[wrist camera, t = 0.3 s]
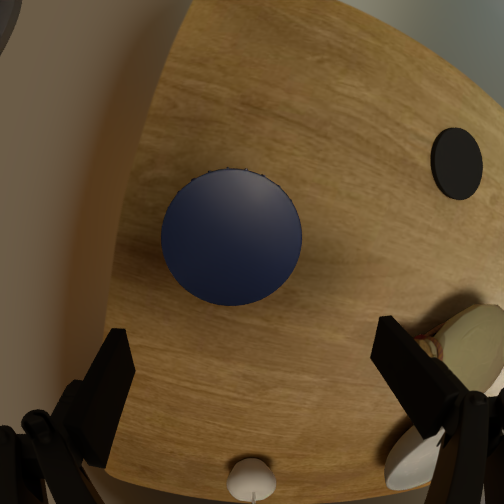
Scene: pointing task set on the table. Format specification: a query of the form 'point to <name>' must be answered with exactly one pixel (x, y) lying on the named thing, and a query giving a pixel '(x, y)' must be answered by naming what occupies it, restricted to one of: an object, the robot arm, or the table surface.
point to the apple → (251, 480)
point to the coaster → (456, 163)
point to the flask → (470, 345)
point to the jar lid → (231, 237)
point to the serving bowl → (412, 460)
